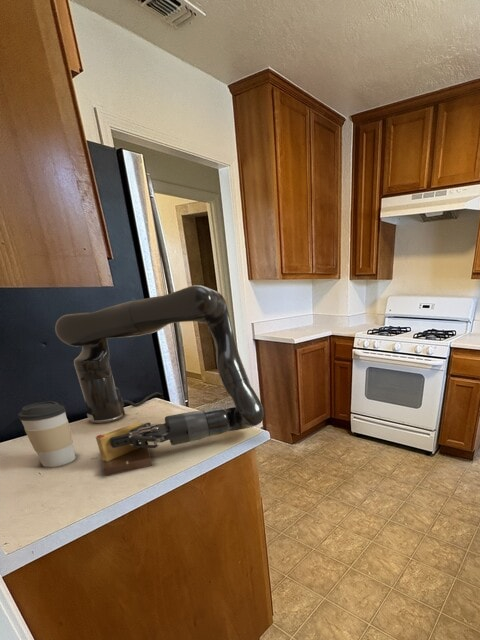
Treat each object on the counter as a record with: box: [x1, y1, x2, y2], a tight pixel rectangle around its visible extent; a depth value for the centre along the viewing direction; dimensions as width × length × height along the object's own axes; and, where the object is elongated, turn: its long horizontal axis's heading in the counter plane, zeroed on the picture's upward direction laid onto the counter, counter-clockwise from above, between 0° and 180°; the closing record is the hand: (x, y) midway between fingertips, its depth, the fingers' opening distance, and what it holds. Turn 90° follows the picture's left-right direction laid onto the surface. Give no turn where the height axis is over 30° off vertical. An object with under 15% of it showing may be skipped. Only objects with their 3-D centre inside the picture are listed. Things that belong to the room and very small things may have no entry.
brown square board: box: [90, 444, 160, 477], centre depth 89 cm, size 15×15×2 cm
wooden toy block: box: [95, 421, 144, 461], centre depth 87 cm, size 11×2×6 cm, turn 152°
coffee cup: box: [17, 401, 76, 468], centre depth 86 cm, size 9×9×15 cm
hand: (110, 442), depth 83 cm, fingers closed
